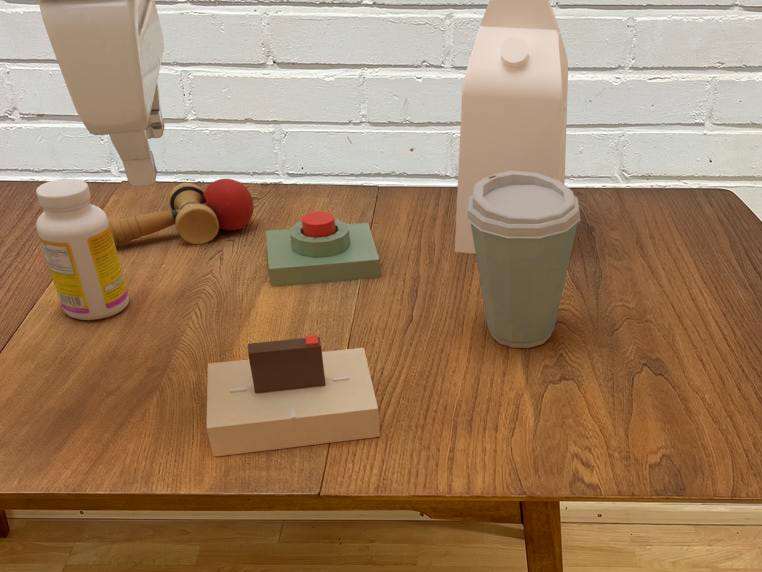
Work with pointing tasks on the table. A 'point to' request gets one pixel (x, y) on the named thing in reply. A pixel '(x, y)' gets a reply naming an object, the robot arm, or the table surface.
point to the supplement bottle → (80, 251)
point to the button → (318, 224)
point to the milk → (512, 101)
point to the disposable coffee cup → (522, 252)
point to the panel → (290, 407)
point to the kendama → (193, 213)
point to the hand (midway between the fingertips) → (148, 157)
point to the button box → (321, 255)
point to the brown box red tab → (286, 364)
